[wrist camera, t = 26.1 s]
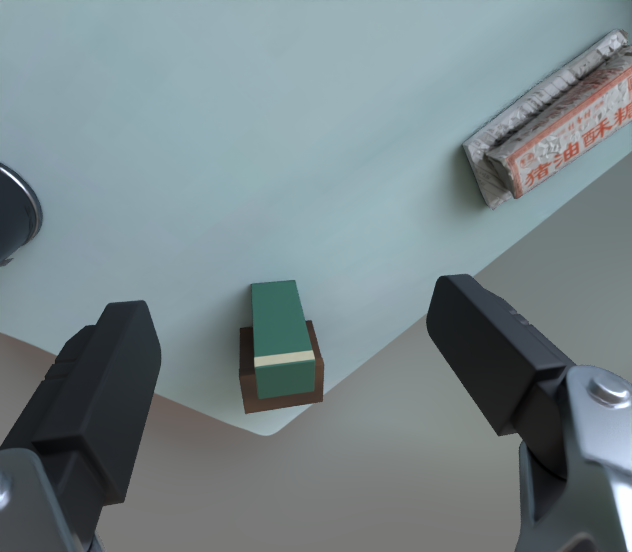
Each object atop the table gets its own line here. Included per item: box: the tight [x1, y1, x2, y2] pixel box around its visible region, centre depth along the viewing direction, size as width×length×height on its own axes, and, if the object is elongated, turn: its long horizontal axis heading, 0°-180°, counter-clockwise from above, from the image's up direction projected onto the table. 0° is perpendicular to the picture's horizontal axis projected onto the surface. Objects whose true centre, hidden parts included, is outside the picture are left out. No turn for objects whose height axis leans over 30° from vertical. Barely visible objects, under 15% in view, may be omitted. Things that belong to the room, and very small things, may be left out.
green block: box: [251, 280, 315, 399], centre depth 37 cm, size 13×6×13 cm
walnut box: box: [239, 321, 324, 414], centre depth 44 cm, size 7×10×8 cm
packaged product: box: [462, 29, 632, 210], centre depth 35 cm, size 18×5×10 cm
